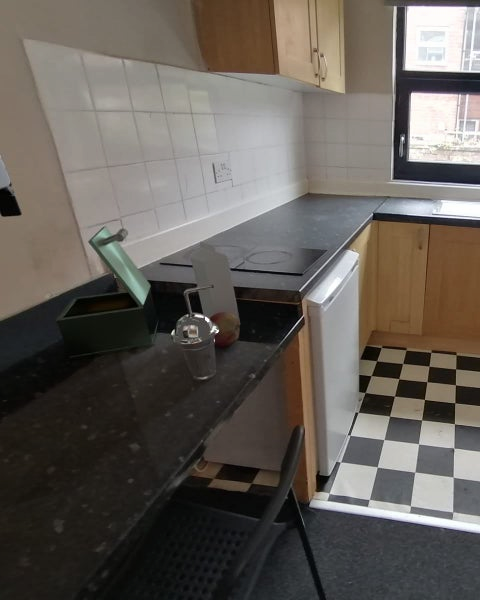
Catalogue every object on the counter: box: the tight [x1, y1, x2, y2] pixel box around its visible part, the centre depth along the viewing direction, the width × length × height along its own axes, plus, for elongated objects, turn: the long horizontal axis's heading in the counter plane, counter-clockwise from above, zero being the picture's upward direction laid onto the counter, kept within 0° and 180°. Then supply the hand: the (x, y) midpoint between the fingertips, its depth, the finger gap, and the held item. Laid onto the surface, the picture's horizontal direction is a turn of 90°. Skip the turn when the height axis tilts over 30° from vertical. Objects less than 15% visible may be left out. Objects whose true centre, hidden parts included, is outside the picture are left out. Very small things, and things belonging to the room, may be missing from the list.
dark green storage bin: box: [55, 288, 160, 361], centre depth 94 cm, size 16×13×10 cm
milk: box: [190, 241, 241, 326], centre depth 99 cm, size 6×6×22 cm
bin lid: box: [87, 225, 152, 307], centre depth 91 cm, size 17×13×5 cm
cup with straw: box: [170, 285, 219, 382], centre depth 79 cm, size 8×9×20 cm
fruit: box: [209, 312, 241, 348], centre depth 93 cm, size 8×8×8 cm
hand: (1, 221), depth 78 cm, fingers open, 9 cm apart
